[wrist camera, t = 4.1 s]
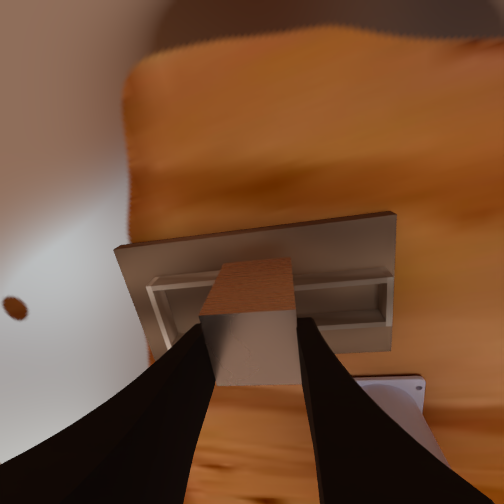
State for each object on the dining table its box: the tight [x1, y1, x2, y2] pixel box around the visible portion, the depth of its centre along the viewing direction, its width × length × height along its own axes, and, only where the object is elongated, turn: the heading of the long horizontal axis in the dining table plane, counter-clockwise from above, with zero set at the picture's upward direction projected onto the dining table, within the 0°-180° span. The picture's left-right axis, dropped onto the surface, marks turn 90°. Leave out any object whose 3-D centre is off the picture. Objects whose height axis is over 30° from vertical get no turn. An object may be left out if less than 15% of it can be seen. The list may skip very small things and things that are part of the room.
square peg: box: [198, 257, 302, 386], centre depth 12 cm, size 4×4×4 cm
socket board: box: [114, 211, 397, 362], centre depth 19 cm, size 11×20×2 cm, turn 99°
